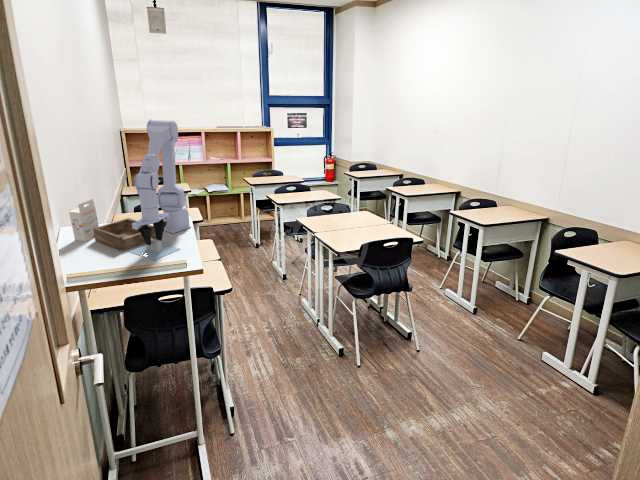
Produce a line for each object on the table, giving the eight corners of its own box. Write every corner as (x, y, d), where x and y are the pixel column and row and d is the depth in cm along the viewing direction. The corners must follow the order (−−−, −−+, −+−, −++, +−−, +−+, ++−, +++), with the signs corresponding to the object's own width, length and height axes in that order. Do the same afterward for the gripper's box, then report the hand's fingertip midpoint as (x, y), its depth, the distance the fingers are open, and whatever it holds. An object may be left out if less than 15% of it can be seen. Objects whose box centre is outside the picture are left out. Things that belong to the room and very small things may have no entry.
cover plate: (154, 242, 167) (153, 231, 165) (180, 250, 161) (179, 238, 159) (128, 253, 157) (126, 241, 156) (154, 262, 151) (152, 249, 149)
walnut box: (130, 230, 177) (128, 218, 175) (155, 238, 169) (154, 226, 167) (95, 241, 165) (93, 228, 163) (121, 251, 157) (119, 237, 155)
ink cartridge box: (89, 232, 173) (83, 197, 167) (100, 234, 172) (94, 198, 166) (74, 240, 165) (66, 203, 160) (85, 242, 164) (78, 204, 159)
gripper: (158, 199, 160) (162, 234, 165) (124, 209, 148) (129, 246, 154) (171, 203, 157) (175, 238, 162) (137, 213, 145) (142, 250, 150)
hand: (153, 242), depth 158 cm, fingers open, 4 cm apart
